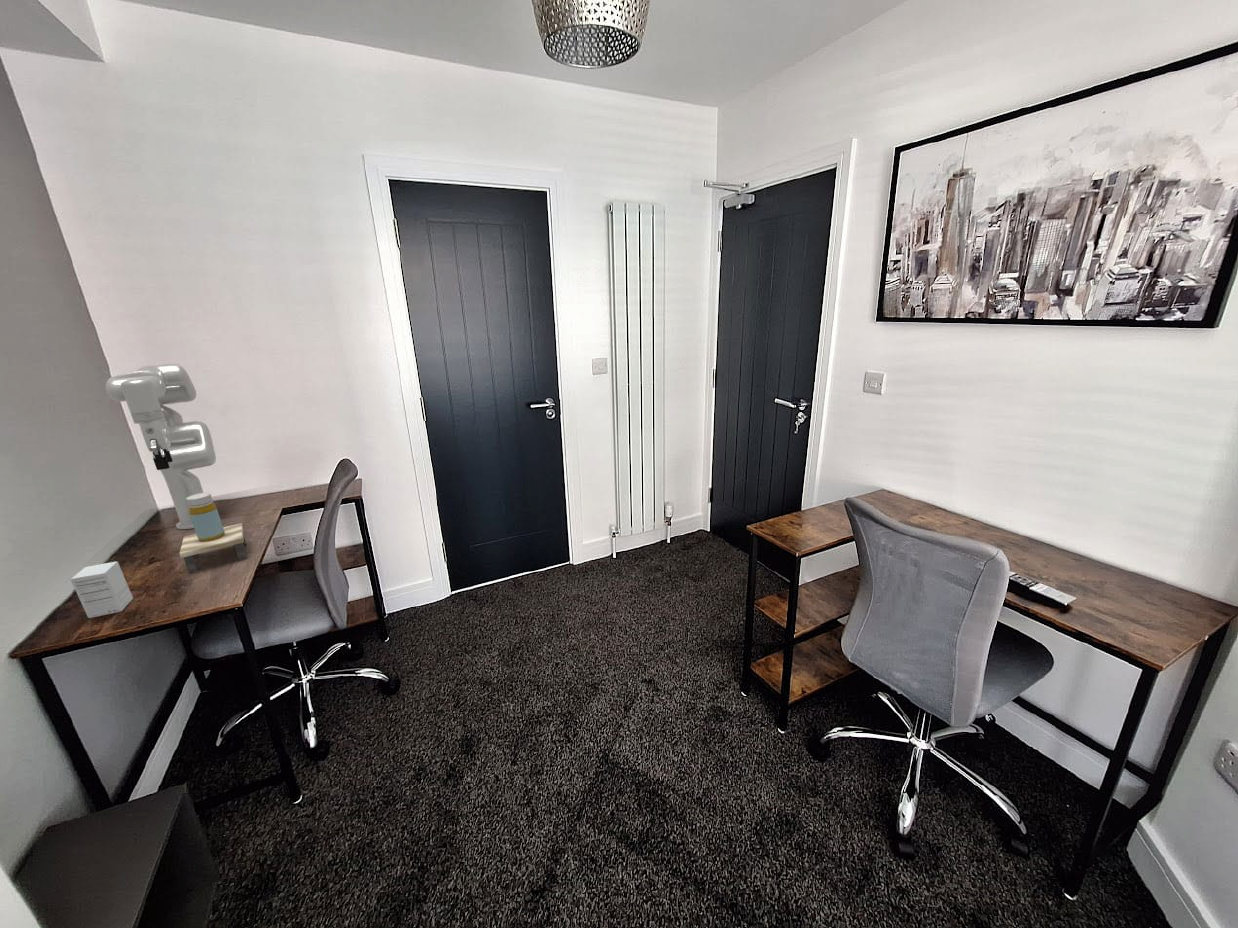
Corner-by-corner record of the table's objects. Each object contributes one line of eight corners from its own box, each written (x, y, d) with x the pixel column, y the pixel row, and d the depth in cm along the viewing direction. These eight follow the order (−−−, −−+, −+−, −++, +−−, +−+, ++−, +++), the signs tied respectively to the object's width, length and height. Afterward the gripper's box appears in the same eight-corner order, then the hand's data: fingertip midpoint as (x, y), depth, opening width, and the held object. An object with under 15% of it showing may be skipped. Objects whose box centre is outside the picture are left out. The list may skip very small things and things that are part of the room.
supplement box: (101, 605, 140) (84, 566, 136) (134, 598, 143) (118, 560, 139) (86, 619, 133) (68, 579, 130) (121, 611, 136) (105, 572, 132)
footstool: (190, 556, 167) (183, 536, 165) (247, 541, 176) (241, 523, 174) (187, 574, 155) (179, 553, 152) (248, 558, 164) (242, 538, 161)
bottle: (193, 541, 161) (178, 499, 156) (213, 532, 167) (200, 491, 162) (210, 542, 159) (196, 500, 155) (230, 533, 166) (217, 492, 161)
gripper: (159, 419, 156) (177, 469, 161) (166, 411, 169) (181, 457, 175) (128, 423, 152) (146, 474, 157) (136, 414, 165) (153, 462, 170)
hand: (165, 465), depth 166 cm, fingers open, 9 cm apart
